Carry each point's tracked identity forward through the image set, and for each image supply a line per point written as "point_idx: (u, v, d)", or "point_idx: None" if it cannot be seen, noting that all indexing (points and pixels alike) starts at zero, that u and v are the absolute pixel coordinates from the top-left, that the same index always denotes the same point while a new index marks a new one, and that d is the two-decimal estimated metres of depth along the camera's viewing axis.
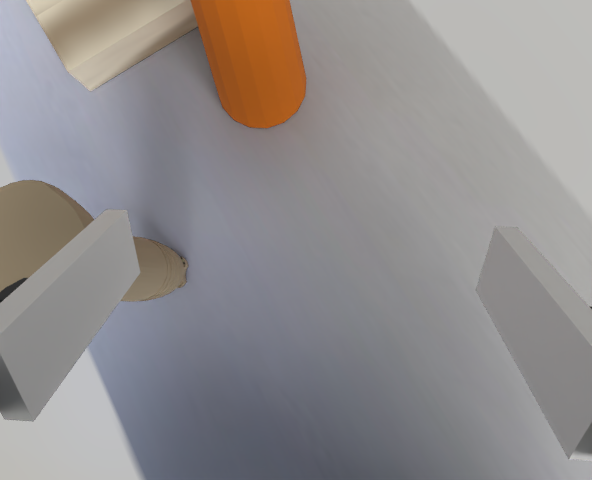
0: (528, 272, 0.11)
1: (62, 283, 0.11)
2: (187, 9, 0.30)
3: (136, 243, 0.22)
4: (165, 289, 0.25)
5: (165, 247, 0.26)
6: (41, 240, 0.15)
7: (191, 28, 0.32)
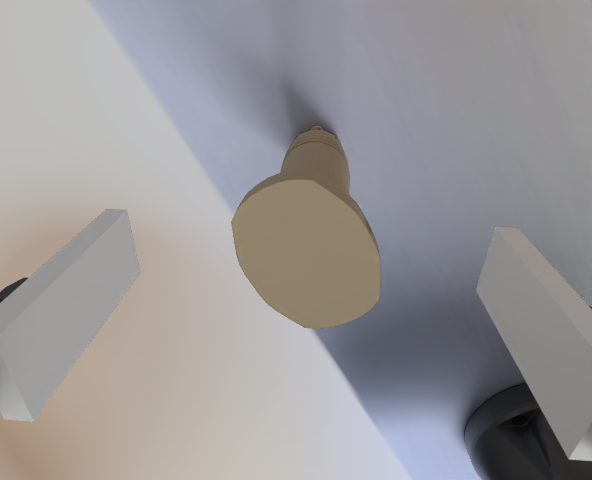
0: (528, 272, 0.11)
1: (62, 283, 0.11)
2: None
3: (338, 169, 0.19)
4: None
5: (337, 143, 0.23)
6: (319, 242, 0.14)
7: None
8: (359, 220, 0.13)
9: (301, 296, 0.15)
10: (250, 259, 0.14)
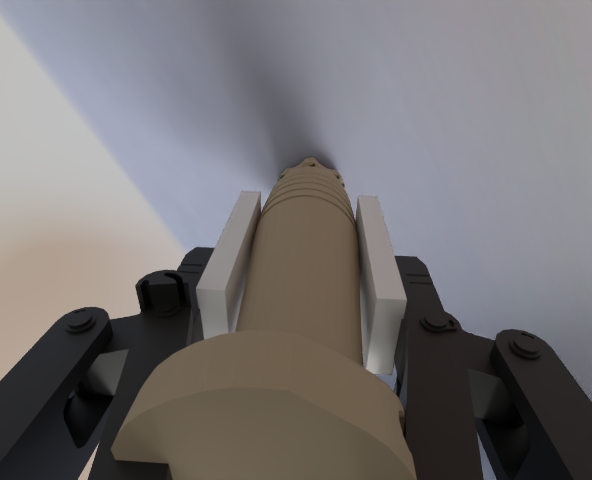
0: (363, 229, 0.13)
1: (242, 249, 0.12)
2: None
3: (342, 254, 0.12)
4: None
5: (339, 193, 0.15)
6: None
7: None
8: (396, 460, 0.06)
9: None
10: None
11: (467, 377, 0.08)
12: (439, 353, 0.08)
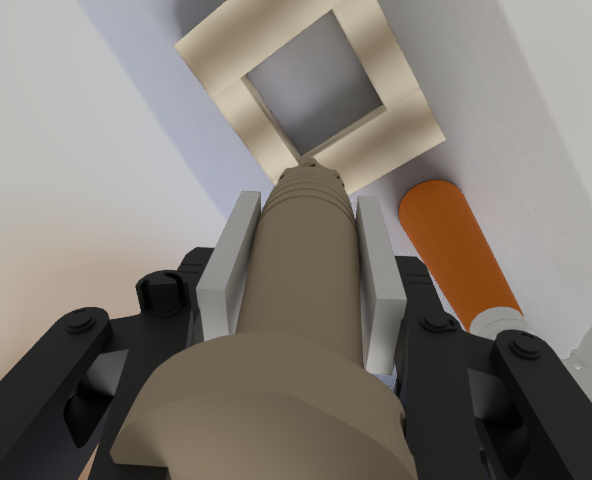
0: (363, 229, 0.13)
1: (242, 249, 0.12)
2: None
3: (342, 255, 0.12)
4: None
5: (339, 194, 0.15)
6: None
7: None
8: (398, 463, 0.06)
9: None
10: None
11: (467, 377, 0.08)
12: (439, 352, 0.09)
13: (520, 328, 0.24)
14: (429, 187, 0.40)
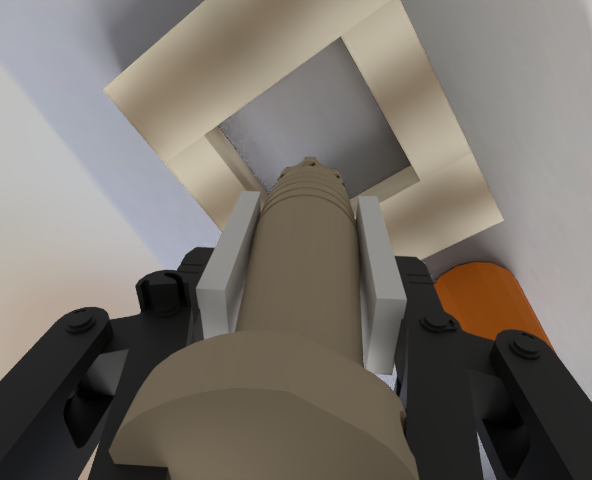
0: (363, 229, 0.13)
1: (242, 249, 0.12)
2: None
3: (342, 254, 0.12)
4: None
5: (339, 193, 0.15)
6: None
7: None
8: (398, 461, 0.06)
9: None
10: None
11: (467, 377, 0.08)
12: (439, 353, 0.09)
13: None
14: (473, 276, 0.29)
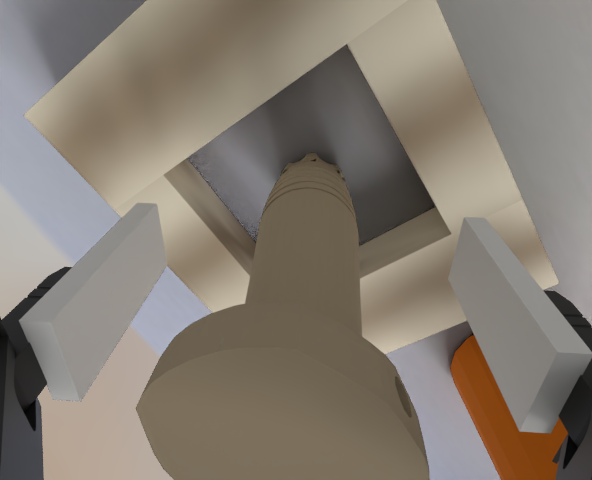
0: (489, 258, 0.12)
1: (104, 271, 0.11)
2: None
3: (343, 242, 0.12)
4: None
5: (339, 186, 0.16)
6: (312, 443, 0.07)
7: None
8: (392, 415, 0.07)
9: None
10: (181, 460, 0.08)
11: None
12: None
13: None
14: None
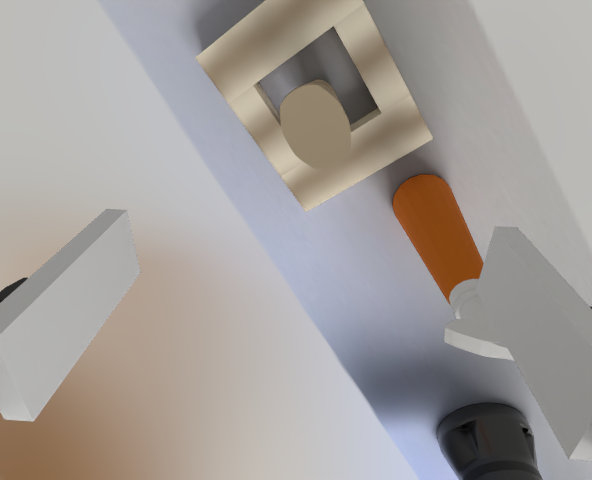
0: (528, 272, 0.11)
1: (62, 283, 0.11)
2: None
3: None
4: None
5: (330, 86, 0.38)
6: (321, 118, 0.29)
7: None
8: (339, 105, 0.29)
9: (312, 149, 0.31)
10: (287, 128, 0.30)
11: None
12: None
13: None
14: (419, 181, 0.45)
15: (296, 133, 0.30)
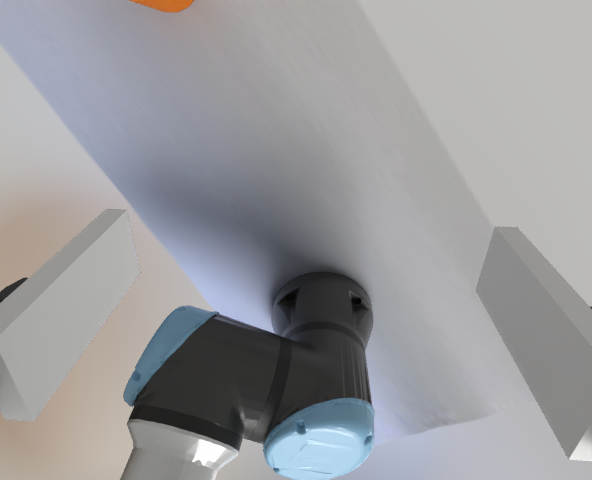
0: (528, 272, 0.11)
1: (62, 283, 0.11)
2: None
3: None
4: None
5: None
6: None
7: None
8: None
9: None
10: None
11: None
12: None
13: None
14: None
15: None
